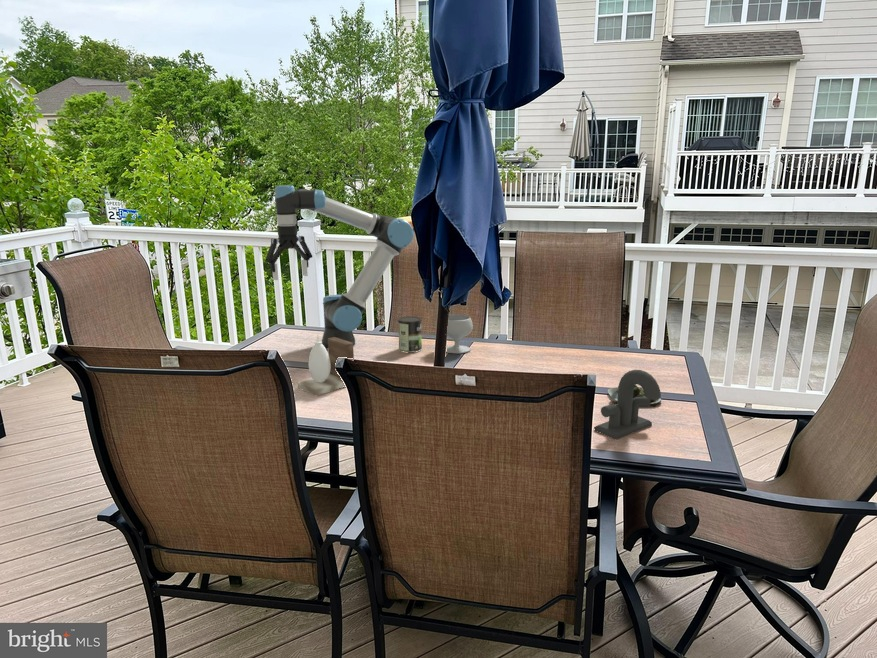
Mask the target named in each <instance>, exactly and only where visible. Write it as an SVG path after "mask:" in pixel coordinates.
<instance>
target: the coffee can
mask: <svg viewBox="0 0 877 658" xmlns="http://www.w3.org/2000/svg"><path fill="white" fill-rule="evenodd" d="M397 321H398V322H397V323H398V325H397V326H398V351H399V350H400V351H404V352H416V351H419V350H421V349H422V348H423V347H422V345H423V343H422V342H423V341H422V338H423V337H422V317H420V316H413V315H412V316H411V315H410V316H401V317H399V318H397ZM422 350H423V349H422ZM422 350H421V351H422ZM400 351H399V352H400ZM404 352H403V353H404ZM416 353H417V352H416Z"/></svg>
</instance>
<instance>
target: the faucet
mask: <svg viewBox="0 0 877 658" xmlns="http://www.w3.org/2000/svg"><path fill="white" fill-rule="evenodd" d="M635 385H636V386H639V387H642V388H643V390H644V392H645V396H646V397H635V398H633V390H634V386H635ZM618 386H619V388H618V401H617V403H615V404H614V403H611V404H607V405H604V406H602V407H601V408H600V413H601V416H602V417H604V418H608V421H605V422H603V423H600V424H597V425H595V426H594V427H593V430H594V429H595V431H594V432H597V431H598V432H597V433H599V432H601V433H603V434H602V435H604V434H605V435H604V436H606V435H607V436H606V437H608V436H609V437H608V438H611V439H613V440H615V439H617V440H619V439H622V438H624V437H626V436H629V435H631V434H634V433H636V432H639V431H642V430H644V429H647V428H649V427H651V426H653V425H652V424H653V422H652V421H651V420H649V419H647V418H644V417H641V416H639V410H640V408H651V407H650V404H651V402H650V399H651V400H658V399H660V398H661V399H662V397H661V396H662V395H661V389H660V386H659V384H658V381H657V380H656V378H654V377H653V376H652V375H651V374H650V373H649V372H647V371H645V370H642V369H632V370H628V371H627V372H625V373H624V374H623V375H622V376H621V378H620V379H619V382H618ZM601 433H600V434H601Z"/></svg>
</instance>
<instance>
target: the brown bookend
mask: <svg viewBox="0 0 877 658" xmlns="http://www.w3.org/2000/svg"><path fill="white" fill-rule="evenodd" d="M327 352H328V355H329V358H330V363H331V370H330V374H329V377H328V378H327V379H326V380H325V381H324V382H322V383H318V382H316V380H314V379H313V378H312V377H311V378H308V379H305V380H301V381H298V382H297V388H298V387H299V388H298V389H300V388H301V389H300V390H302V389H303V390H302V391H304V390H305V392H306V391H307V393H309V394H311V395H313V396H315V395H317V396H319V395H324V394H326V393H330V391H331V392H333V390H334V391H337V390H340V389H339V388H341V389H343V386H344V388H346V387H345V385H344V383H343V381H342V380H341V378H340V376H339V375H338V374H337V372H336V371H335V363H336V360H337V358H338V357H347V358H353V359H354V360H355V357H354V355H355V354H354V346H353V343H351V342H348V341H345V340H342V339H339V338H336V337H331V338H328V348H327ZM336 389H337V390H336Z"/></svg>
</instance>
